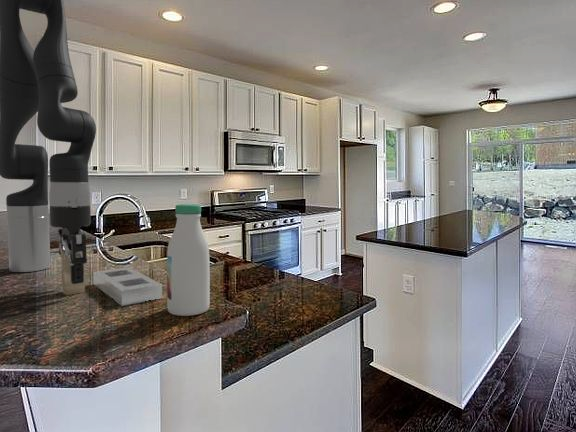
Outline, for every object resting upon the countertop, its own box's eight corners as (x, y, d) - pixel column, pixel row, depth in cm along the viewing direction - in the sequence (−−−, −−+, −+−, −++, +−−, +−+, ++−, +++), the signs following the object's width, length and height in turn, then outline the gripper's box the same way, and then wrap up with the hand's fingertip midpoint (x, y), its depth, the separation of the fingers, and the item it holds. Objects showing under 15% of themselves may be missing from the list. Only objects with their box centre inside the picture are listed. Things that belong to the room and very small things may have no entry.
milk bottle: (217, 306, 74) (217, 204, 72) (194, 319, 66) (194, 206, 65) (183, 301, 76) (182, 203, 74) (158, 313, 69) (157, 204, 67)
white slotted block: (93, 284, 88) (93, 271, 87) (129, 279, 93) (128, 267, 93) (121, 306, 73) (121, 290, 72) (162, 298, 78) (161, 284, 78)
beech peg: (62, 291, 82) (60, 250, 81) (80, 288, 84) (79, 249, 83) (65, 295, 79) (64, 253, 78) (84, 292, 81) (83, 251, 81)
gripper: (43, 202, 83) (46, 275, 84) (56, 205, 72) (59, 289, 73) (81, 202, 88) (83, 271, 89) (98, 205, 77) (100, 283, 78)
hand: (72, 279), depth 81 cm, fingers open, 8 cm apart
